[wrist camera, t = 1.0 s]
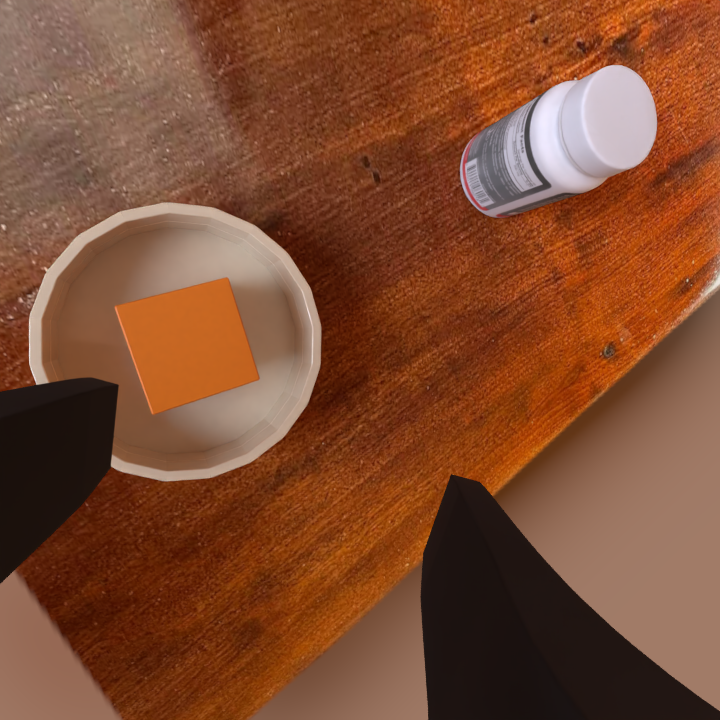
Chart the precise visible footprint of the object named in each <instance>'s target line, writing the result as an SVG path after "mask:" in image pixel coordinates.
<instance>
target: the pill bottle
mask: <svg viewBox="0 0 720 720" xmlns="http://www.w3.org/2000/svg"><path fill="white" fill-rule="evenodd" d="M656 131H657V114H656V108H655V103H654V100H653V97H652V94H651V92H650V90H649V88H648V86H647V85H646V83H645V82H644V81H643V79H642V78H641V77H640V76H639V75H638V74H637V73H636V72H634V71H633V70H631V69H629V68H627V67H624V66H621V65H611V66H607V67H604V68H602V69H600V70H598V71H596V72H595V73H593V74H591V75H589V76H586V77H584V78H582V79H581V80H572V81H566V82H563V83H560V84H558V85H556V86H554V87H552V88H551V89H549V90H547V91H546V92H544V93H542V94H541V95H539V96H538V97H536V98H535V99H533V100H531V101H530V102H528V103H526V104H525V105H523V106H521V107H520V108H518V109H516V110H515V111H513V112H512V113H510V114H509V115H507V116H505V117H504V118H502V119H500V120H499V121H497V122H496V123H494V124H492V125H491V126H489V127H487V128H485V129H484V130H482V131H480V132H479V133H478V134H476V135H475V136H474V137H473V138H472V139H471V141H470V142H469V143H468V145H467V146H466V148H465V150H464V153H463V155H462V159H461V164H460V177H461V183H462V186H463V189H464V192H465V194H466V196H467V197H468V199H469V201H470V202H471V203H472V204H473V205H474V206H475V207H476V208H477V209H478V210H479V211H481V212H482V213H484V214H486V215H488V216H491V217H495V218H505V217H509V216H513V215H516V214H519V213H523V212H526V211H529V210H532V209H535V208H538V207H541V206H544V205H547V204H550V203H554V202H557V201H560V200H563V199H566V198H569V197H572V196H576V195H579V194H582V193H585V192H587V191H590V190H592V189H594V188H596V187H598V186H599V185H601V184H602V183H603V182H604V181H605V180H606V179H607V178H608V177H610V176H613V175H616V174H618V173H620V172H623V171H626V170H628V169H631V168H633V167H635V166H637V165H638V164H640V163H641V162H642V161H643V160H644V159H645V158H646V157H647V155H648V154H649V152H650V150H651V148H652V146H653V143H654V140H655V136H656Z"/></svg>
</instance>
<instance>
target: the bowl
mask: <svg viewBox="0 0 720 720" xmlns="http://www.w3.org/2000/svg"><path fill="white" fill-rule="evenodd" d="M225 277H228V278H229V281H230V284H231V287H232V290H233V293H234V297H235V300H236V303H237V306H238V310H239V313H240V316H241V319H242V322H243V326H244V329H245V332H246V335H247V338H248V342H249V345H250V348H251V351H252V355H253V358H254V361H255V364H256V367H257V371H258V374H259V377H260V379H259V380H258V381H255V382H252V383H249V384H246V385H243V386H240V387H237V388H234V389H231V390H228V391H225V392H222V393H219V394H216V395H213V396H210V397H206V398H203V399H200V400H197V401H194V402H191V403H188V404H185V405H182V406H179V407H176V408H173V409H170V410H167V411H164V412H161V413H158V414H155V415H152V414H151V411H150V408H149V405H148V402H147V399H146V397H145V394H144V391H143V388H142V385H141V382H140V379H139V377H138V374H137V371H136V368H135V365H134V362H133V360H132V357H131V354H130V351H129V348H128V345H127V342H126V340H125V337H124V334H123V331H122V328H121V325H120V322H119V320H118V317H117V314H116V311H115V306H116V305H120V304H123V303H127V302H131V301H135V300H139V299H143V298H147V297H151V296H155V295H159V294H163V293H167V292H170V291H174V290H178V289H182V288H186V287H190V286H194V285H198V284H202V283H206V282H210V281H214V280H217V279H221V278H225ZM29 317H30V318H29V365H30V369H31V371H32V374H33V377H34V379H35V382H36V384H37V385H39V384H44V383H50V382H56V381H62V380H68V379H75V378H86V377H93V378H96V379H100V380H104V381H107V382H111V383H115V384H118V385H119V388H118V399H117V409H116V419H115V429H114V439H113V449H112V459H111V467H113V468H115V469H116V470H118V471H121V472H125V473H129V474H134V475H138V476H143V477H147V478H151V479H156V480H160V481H179V480H193V479H206V478H212V477H215V476H217V475H220V474H223V473H225V472H228V471H230V470H233V469H236V468H238V467H241V466H243V465H246V464H249V463H251V462H253V461H254V460H255V459H256V458H258V457H259V456H260V455H262V454H263V453H264V452H266V451H267V450H268V449H269V448H271V447H272V446H273V445H275V444H276V443H277V442H278V441H280V440H281V439H282V438H284V436H285V435H286V434H287V433H288V431H289V430H290V428H291V427H292V426H293V424H294V423H295V421H296V420H297V419H298V417H299V416H300V414H301V413H302V412H303V410H304V409H305V407H306V406H307V403H309V400H310V397H311V394H312V391H313V388H314V385H315V382H316V379H317V376H318V373H319V370H320V365H321V331H322V327H321V322H320V319H319V315H318V312H317V308H316V305H315V301H314V298H313V295H312V291H311V288H310V286H309V284H308V283H307V281H306V280H305V278H304V277H303V275H302V274H301V272H300V271H299V269H298V268H297V266H296V264H295V263H294V261H293V260H292V258H291V257H290V255H289V254H288V253H287V252H286V251H285V250H284V249H283V248H282V247H280V246H279V245H278V244H277V243H276V242H274V241H273V240H272V239H271V238H270V237H269V236H267V235H266V234H265V233H264V232H263V231H261V230H260V229H259V228H258V227H257V226H254V224H251V223H249V222H247V221H244V220H242V219H240V218H237V217H235V216H233V215H230V214H228V213H226V212H223V211H221V210H219V209H217V208H213V207H207V206H198V205H189V204H180V203H171V202H168V203H166V202H165V203H160V204H155V205H150V206H145V207H140V208H135V209H130V210H125V211H121V212H118V213H116V214H115V215H113V216H111V217H109V218H108V219H106V220H104V221H102V222H100V223H99V224H97V225H95V226H93V227H92V228H90V229H88V230H86V231H85V232H83V233H81V234H79V236H77V237H76V238H75V239H74V240H73V241H72V243H71V244H70V245H69V246H68V247H67V248H66V250H65V251H64V252H63V253H62V254H61V255H60V256H59V258H58V259H57V260H56V261H55V262H54V263H53V264H52V266H51V267H50V268H49V269H48V270H47V273H45V276H44V279H43V281H42V284H41V287H40V289H39V292H38V294H37V297H36V300H35V302H34V305H33V308H32V310H31V313H30V316H29Z"/></svg>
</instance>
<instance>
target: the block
mask: <svg viewBox="0 0 720 720" xmlns="http://www.w3.org/2000/svg"><path fill="white" fill-rule="evenodd" d="M115 311H116V314H117V317H118V320H119V322H120V325H121V328H122V331H123V334H124V337H125V340H126V342H127V345H128V348H129V351H130V354H131V357H132V360H133V362H134V365H135V368H136V371H137V374H138V377H139V379H140V382H141V385H142V388H143V391H144V394H145V397H146V399H147V402H148V405H149V408H150V411H151V414H152V415H155V414H158V413H161V412H164V411H167V410H170V409H173V408H176V407H179V406H182V405H185V404H188V403H191V402H194V401H197V400H200V399H203V398H206V397H210V396H213V395H216V394H219V393H222V392H225V391H228V390H231V389H234V388H237V387H240V386H243V385H246V384H249V383H252V382H255V381H258V380H259V379H260V377H259V374H258V371H257V367H256V364H255V361H254V358H253V355H252V351H251V348H250V345H249V342H248V338H247V335H246V332H245V329H244V326H243V322H242V319H241V316H240V313H239V310H238V306H237V303H236V300H235V297H234V293H233V290H232V287H231V284H230V281H229V278H228V277H225V278H221V279H217V280H214V281H210V282H206V283H202V284H198V285H194V286H190V287H186V288H182V289H178V290H174V291H170V292H167V293H163V294H159V295H155V296H151V297H147V298H143V299H139V300H135V301H131V302H127V303H123V304H120V305H116V306H115Z"/></svg>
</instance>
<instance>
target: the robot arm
mask: <svg viewBox="0 0 720 720" xmlns="http://www.w3.org/2000/svg"><path fill="white" fill-rule="evenodd" d="M118 388H119V385H118V384H115V383H111V382H107V381H104V380H100V379H96V378H93V377H86V378H75V379H68V380H62V381H56V382H50V383H44V384H39V385H34V386H29V387H23V388H18V389H13V390H8V391H2V392H0V583H1V582H3V580H5V579H6V577H8V576H9V575H10V574H11V573H12V572H13V571H14V570H15V569H16V568H17V567H18V566H19V565H20V564H21V563H22V562H23V561H24V560H25V559H27V558H28V557H29V556H30V555H31V554H32V553H33V552H34V551H35V550H36V549H37V548H38V547H39V546H40V545H41V544H42V543H43V542H44V541H45V540H46V539H47V538H48V537H49V536H51V535H52V534H53V533H54V532H55V531H56V530H57V529H58V528H59V527H60V526H61V525H62V524H63V523H64V522H65V521H66V520H67V519H68V518H69V517H70V516H71V515H72V514H73V513H74V512H75V511H76V510H77V509H78V508H79V507H80V506H81V505H82V504H83V503H84V501H85V500H86V499H87V498H88V496H89V495H90V494H91V493H92V492H93V490H94V489H95V488H96V486H97V485H98V484H99V482H100V481H101V480H102V478H103V477H104V476H105V475H106V473H107V472H108V471H109V469H110V468H111V459H112V449H113V439H114V429H115V419H116V409H117V399H118ZM421 612H422V628H423V642H424V657H425V671H426V686H427V700H428V720H720V711H719V710H717V709H716V708H714V707H713V706H711V705H710V704H709V703H707V702H706V701H704V700H703V699H701V698H700V697H699V696H697V695H696V694H695V693H693V692H692V691H691V690H689V689H688V688H687V687H685V686H684V685H683V684H681V683H680V682H679V681H677V680H676V679H675V678H673V677H672V676H671V675H669V674H668V673H667V672H666V671H664V670H663V669H662V668H661V667H660V666H658V665H657V664H656V663H655V662H653V661H652V660H651V659H649V658H648V657H647V656H646V655H645V654H643V653H642V652H641V651H639V650H638V649H637V648H636V647H635V646H633V645H632V644H631V643H630V642H629V641H628V640H626V639H625V638H624V637H623V636H622V635H621V634H619V633H618V632H617V631H616V630H615V629H614V628H612V627H611V626H610V625H609V624H608V623H607V622H606V621H605V620H604V619H603V618H602V617H600V615H599V614H597V613H596V612H595V611H594V610H593V609H592V608H591V607H590V606H589V605H588V604H587V603H586V602H584V600H582V599H581V598H580V597H579V596H578V595H577V594H576V593H575V592H574V591H573V590H572V589H571V588H570V587H569V586H568V585H567V583H565V581H564V580H563V579H562V578H561V577H560V576H559V575H558V574H557V573H556V572H555V571H554V569H552V567H551V566H550V565H549V564H548V563H547V562H546V561H545V560H544V559H543V557H542V556H541V555H540V554H539V553H538V552H537V551H536V549H535V548H534V547H533V546H532V545H531V543H530V542H529V541H528V540H527V539H526V538H525V536H524V535H523V534H522V533H521V532H520V530H519V529H518V528H517V527H516V525H515V524H514V523H513V522H512V520H511V519H510V518H509V517H508V515H507V514H506V513H505V512H504V510H503V509H502V508H501V507H500V505H499V504H498V503H497V502H496V500H495V499H494V498H493V497H492V495H491V494H490V493H489V492H488V491H487V489H486V488H485V487H484V486H483V485H482V484H481V483H480V482H478V481H474V480H471V479H467V478H463V477H459V476H456V475H452V474H451V476H450V479H449V482H448V485H447V487H446V490H445V493H444V496H443V499H442V502H441V504H440V507H439V510H438V513H437V516H436V519H435V521H434V524H433V527H432V530H431V533H430V536H429V538H428V541H427V544H426V547H425V550H424V553H423V566H422V581H421Z"/></svg>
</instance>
